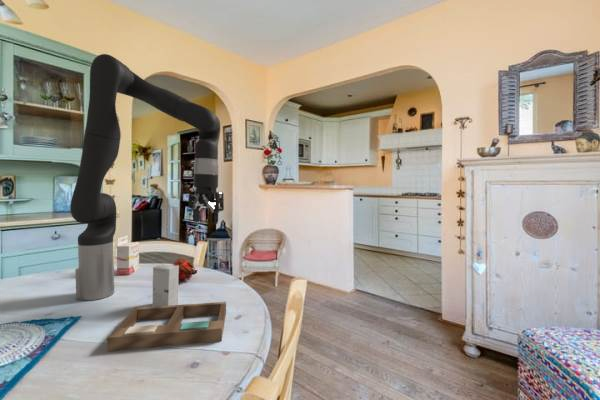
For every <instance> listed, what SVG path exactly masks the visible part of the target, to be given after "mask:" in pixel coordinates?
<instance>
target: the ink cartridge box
mask: <svg viewBox="0 0 600 400" xmlns="http://www.w3.org/2000/svg"><path fill="white" fill-rule="evenodd" d="M138 270H140V242H139V241H135V242H134V241H132V242H130V241H129V235H124V236H122V237H118V238H117V241H116V275H117V276H130V275H131V273H132V274H133V273H135V272H137V271H138Z"/></svg>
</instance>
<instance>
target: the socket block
mask: <svg viewBox="0 0 600 400" xmlns="http://www.w3.org/2000/svg"><path fill="white" fill-rule="evenodd" d="M226 313H227V301H218V302H204V303H203V302H202V303H188V304H177V305H170V306H154V307H153V306H142V307H141V306H140V307H134V308H133V309H132V310H130V312H129V313H128V314H127V315H126V316H125V317H124V319H123V320H122V321H121V322H119V324H118V325H117V326H116V328H115V329H114V330H113V331H111V333H110V334H109V335H108V336H107V338H106V344H107V345H106V346H107V347H106V348H107V349H106V350H107V352H111V351H112V352H114V351H124V350H125V351H126V350H138V349H147V348H149V349H150V348H158V347H168V346H169V347H171V346H179V345H182V346H183V345H190V344H192V345H193V344H202V343H213V342H214V343H215V342H222V340H223V334H224V327H225V320H226V315H227V314H226ZM215 315H216V316H217V315H218V318H217V320H211V321H210V320H204V321H203V320H201V321H188V322H183V320H184V318H190V317H191V318H192V317H202V316H215ZM162 319H169V321H168V322H167V324H149V325H135V324H136V323H137V322H138V321H148V320H162Z"/></svg>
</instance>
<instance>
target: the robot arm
mask: <svg viewBox="0 0 600 400" xmlns="http://www.w3.org/2000/svg"><path fill="white" fill-rule="evenodd" d="M118 94H121V95H125V96H127V97H132V98H133V99H136V100H137V99H138V100H139V101H141V102H143V103H146V104H147V105H150V106H152V107H153V108H155V109H157V110H158V111H160V112H162V113H164V114H166V115H168V116H170V117H172V118H174V119H176V120H178V121H181V122H184V123H185V124H187V125H190V126H192V127H193V128H195V129H197V130H198V131H199V132H198V141H196V142H195V145H194V146H195V147H194V151H195V152H194V162H193V187H194V188H195V189H196V190H194V189H193V190H192V189H190V190H189V191H188V208H189V209H191V210H192V221H193V222H194V223H196V222H197V223H198V222H200V221H201V209H202V207H203V206H204V205H205V206H207V207H208V208H209V210H210V224H211V225H218V223H219V213H220V212H222V211H223V212H224V210H225V207H224V205H225V204H224V202H225V201H224V200H225V198H224V192H223V191H217V190H216V189H218V188H219V162H218V159H219V142H220V137H221V136H220V135H221V121H220V118H219V117H218V116H217V115H216V114H215V112H213V111H212V110H210V109H209V108H206V107H204V106H202V105H201V104H198V103H195V102H192V101H190V100H189V99H187V98H185V97H182V96H181V95H179V94H176V93H175V92H172V91H170V90H168V89H167V88H162V87H160V86H157V85H155V84H152V83H151V82H148V81H147V80H145V79H143V78H142V77H140V76H139V75H137V74H136V73H135V72H133V71H132V70H131V69H130V68H129V67H128V66H127V65H126V64H124V63H123V62H121V61H120V60H119V59H117V58H116V57H114V56H113V55H110V54H106V53H102V54H99V55H97V56H95V58H93V61H92V63H91V64H90V69H89V100H88V108H87V116H86V124H85V128H84V129H85V130H84V134H83V142H82V152H81V156H80V163H79V169H78V174H77V179H76V183H75V186H74V190H73V193H72V197H71V201H70V206H69V207H70V215H71V217H72V218H73V220H75V221H76V222H77V223H80V224H87V226H86V228H85V230H84V231H82V232H81V233H80V234H79V235H78V236H77V249H78V250H77V251H78V253H77V254H78V257H77V258H78V267H77V268H75V293H76V294H75V299H76V300H81V301H96V300H100V299H104V298H107V297H109V296H111V295H113V294H115V266H114V265H115V264H114V263H115V261H114V235H116V229H117V204H116V201H115V199H114V197H112V196H111V195H110V194H108V193H105V192H102V186H103V182H104V179H105V177H106V175H107V174H108V172H109V171H110V169H111V168H112V166H113V165H114V163H115V161H116V160H117V158H118V155H119V152H120V151H119V150H120V144H121V138H122V136H121V135H122V134H121V128H120V122H119V119H118V115H117V109H116V108H117V107H116V100H117V96H118Z"/></svg>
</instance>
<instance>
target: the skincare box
mask: <svg viewBox="0 0 600 400" xmlns="http://www.w3.org/2000/svg"><path fill="white" fill-rule="evenodd" d="M178 276H179V266H177V265H173V264H171V263H160V264H158V265H155V266H153V267H152V307H154V306H170V305H179V280H178Z"/></svg>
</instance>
